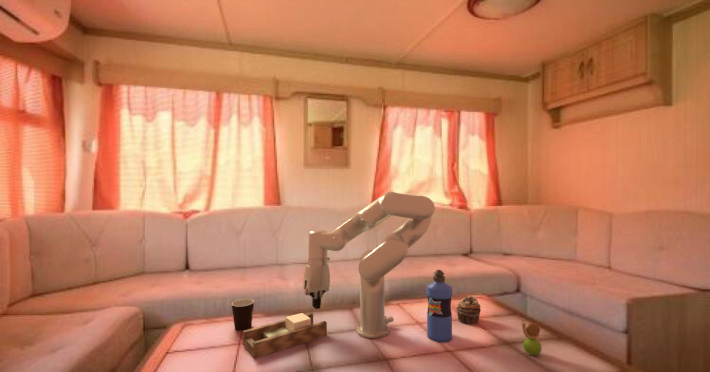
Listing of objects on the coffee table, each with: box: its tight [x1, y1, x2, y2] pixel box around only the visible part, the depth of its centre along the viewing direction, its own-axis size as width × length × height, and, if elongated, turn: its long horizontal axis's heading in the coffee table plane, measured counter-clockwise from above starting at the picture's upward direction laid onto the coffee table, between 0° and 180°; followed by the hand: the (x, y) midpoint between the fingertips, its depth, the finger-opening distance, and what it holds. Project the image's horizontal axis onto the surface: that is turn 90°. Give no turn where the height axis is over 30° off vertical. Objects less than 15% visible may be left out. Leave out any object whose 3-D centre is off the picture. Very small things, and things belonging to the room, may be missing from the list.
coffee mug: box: [231, 298, 255, 332], centre depth 136 cm, size 12×9×10 cm
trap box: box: [242, 312, 328, 359], centre depth 123 cm, size 28×12×5 cm, turn 127°
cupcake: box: [455, 296, 481, 326], centre depth 139 cm, size 10×10×10 cm
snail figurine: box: [520, 318, 543, 356], centre depth 111 cm, size 5×6×12 cm
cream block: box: [285, 312, 311, 331], centre depth 126 cm, size 7×7×4 cm
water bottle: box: [426, 269, 453, 343], centre depth 125 cm, size 9×9×25 cm
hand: (316, 307), depth 132 cm, fingers closed
